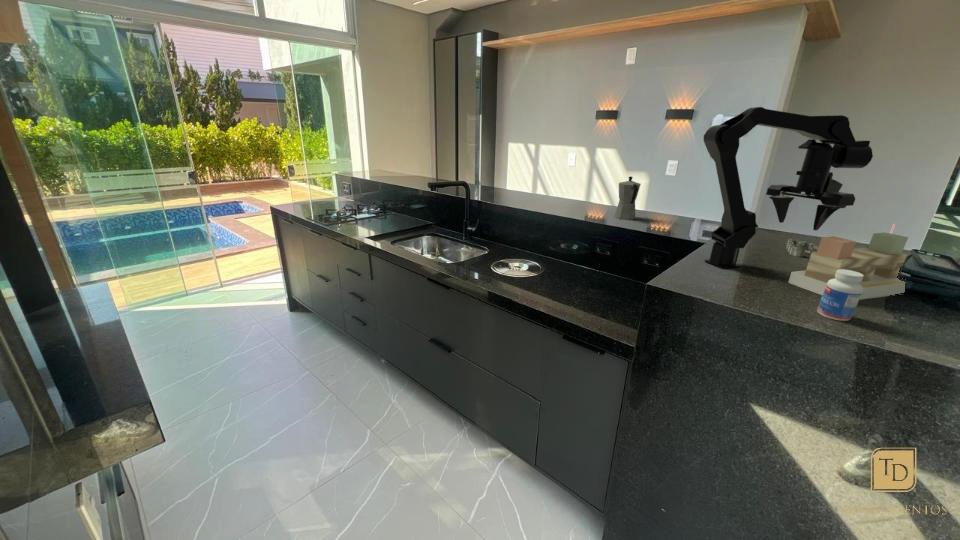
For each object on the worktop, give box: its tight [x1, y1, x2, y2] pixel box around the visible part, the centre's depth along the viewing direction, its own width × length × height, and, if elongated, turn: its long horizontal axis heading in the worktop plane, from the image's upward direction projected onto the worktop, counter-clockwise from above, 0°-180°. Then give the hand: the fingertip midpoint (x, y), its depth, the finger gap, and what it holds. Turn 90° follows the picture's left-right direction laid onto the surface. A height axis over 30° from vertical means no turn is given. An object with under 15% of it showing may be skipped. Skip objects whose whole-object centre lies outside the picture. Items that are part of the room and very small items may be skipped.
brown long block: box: [805, 246, 908, 283], centre depth 91 cm, size 21×6×6 cm, turn 104°
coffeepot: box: [614, 176, 641, 221], centre depth 163 cm, size 15×9×18 cm, turn 178°
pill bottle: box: [816, 269, 864, 322], centre depth 77 cm, size 6×5×10 cm
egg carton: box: [785, 237, 819, 259], centre depth 119 cm, size 11×8×4 cm
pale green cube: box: [868, 232, 909, 254], centre depth 91 cm, size 4×4×4 cm
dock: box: [787, 269, 906, 301], centre depth 92 cm, size 22×12×3 cm, turn 104°
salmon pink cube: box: [816, 235, 857, 259], centre depth 87 cm, size 4×4×4 cm
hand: (797, 226), depth 103 cm, fingers open, 9 cm apart
